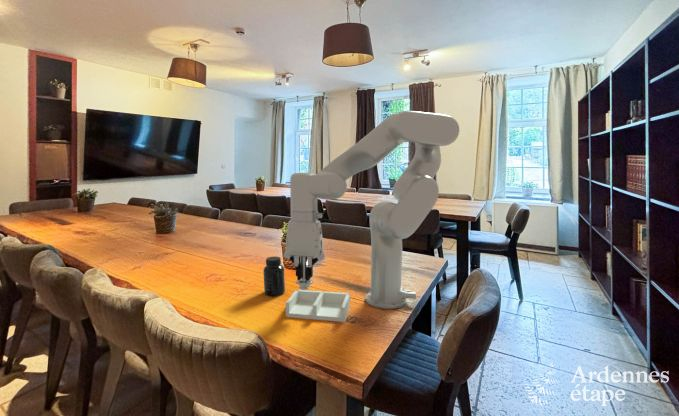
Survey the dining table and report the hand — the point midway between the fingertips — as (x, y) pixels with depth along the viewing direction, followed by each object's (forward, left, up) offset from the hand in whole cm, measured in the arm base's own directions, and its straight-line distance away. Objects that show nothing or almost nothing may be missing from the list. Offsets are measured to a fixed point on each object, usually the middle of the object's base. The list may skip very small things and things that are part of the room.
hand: (304, 278), depth 97 cm
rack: (-4, -1, -10) cm, 11 cm away
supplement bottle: (+14, -12, -10) cm, 21 cm away
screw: (0, 0, -3) cm, 3 cm away
